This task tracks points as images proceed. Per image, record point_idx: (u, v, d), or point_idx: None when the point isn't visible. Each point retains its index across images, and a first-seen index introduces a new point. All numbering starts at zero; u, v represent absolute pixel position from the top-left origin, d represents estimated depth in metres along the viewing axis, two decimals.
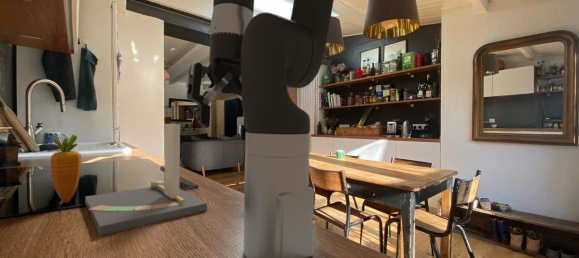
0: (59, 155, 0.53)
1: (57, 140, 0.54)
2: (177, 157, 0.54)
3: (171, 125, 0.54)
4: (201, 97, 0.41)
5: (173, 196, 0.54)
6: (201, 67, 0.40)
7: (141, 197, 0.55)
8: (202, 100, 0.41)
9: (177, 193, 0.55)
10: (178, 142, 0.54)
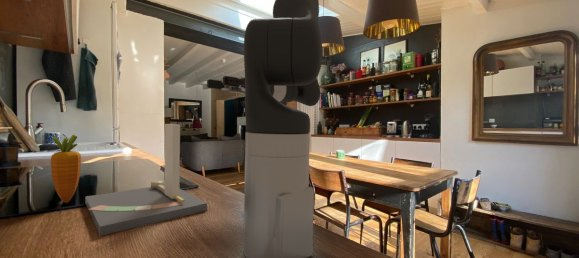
0: (59, 155, 0.53)
1: (57, 140, 0.54)
2: (177, 157, 0.54)
3: (171, 125, 0.54)
4: None
5: (173, 196, 0.54)
6: None
7: (141, 197, 0.55)
8: None
9: (177, 193, 0.55)
10: (178, 142, 0.54)
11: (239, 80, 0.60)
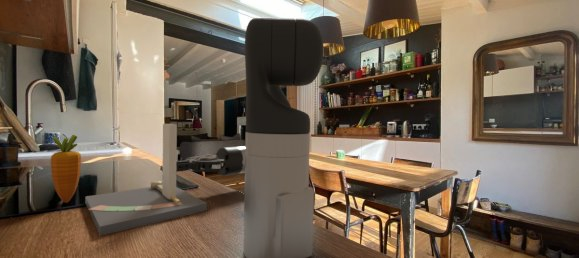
0: (59, 155, 0.53)
1: (57, 140, 0.54)
2: (174, 157, 0.54)
3: (168, 125, 0.54)
4: None
5: (170, 197, 0.54)
6: None
7: (141, 197, 0.55)
8: None
9: (174, 194, 0.54)
10: (175, 142, 0.54)
11: (189, 164, 0.59)
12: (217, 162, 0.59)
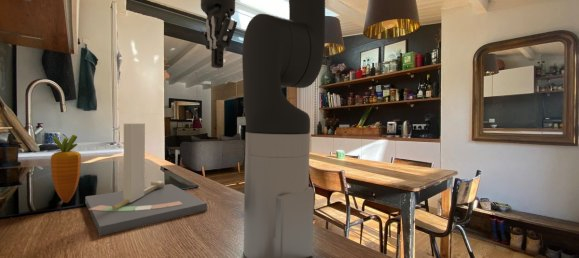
0: (59, 155, 0.53)
1: (57, 140, 0.54)
2: (128, 159, 0.51)
3: None
4: None
5: (124, 200, 0.51)
6: (202, 31, 0.60)
7: (141, 197, 0.55)
8: None
9: (128, 197, 0.51)
10: (129, 142, 0.51)
11: (219, 49, 0.56)
12: (227, 21, 0.52)
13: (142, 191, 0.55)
